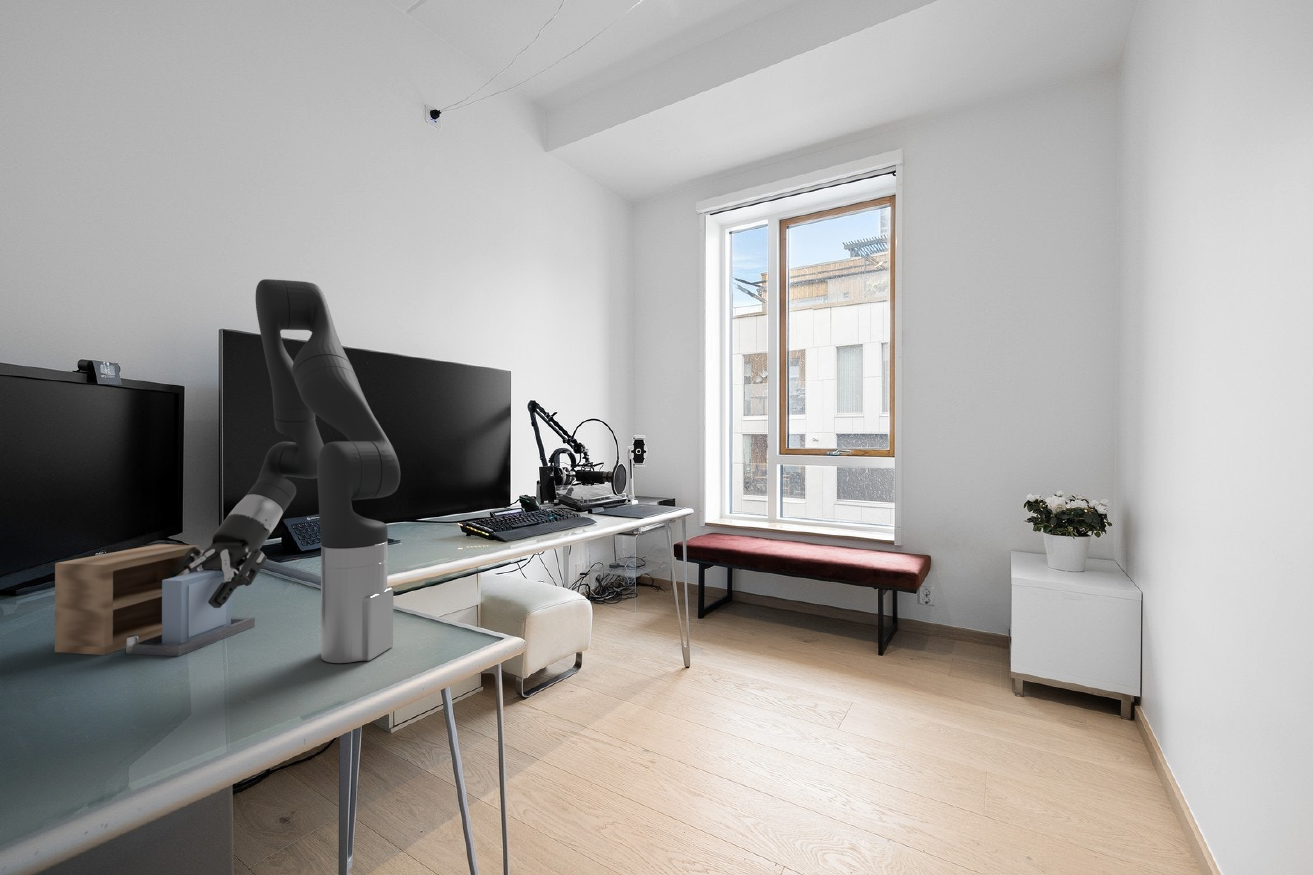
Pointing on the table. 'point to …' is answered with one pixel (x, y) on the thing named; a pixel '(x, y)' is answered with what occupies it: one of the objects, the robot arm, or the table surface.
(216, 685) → the table surface
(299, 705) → the table surface
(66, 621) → the cabinet
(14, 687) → the table surface
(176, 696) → the table surface
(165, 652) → the dark grey tray
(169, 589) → the recessed panel box
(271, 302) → the robot arm
